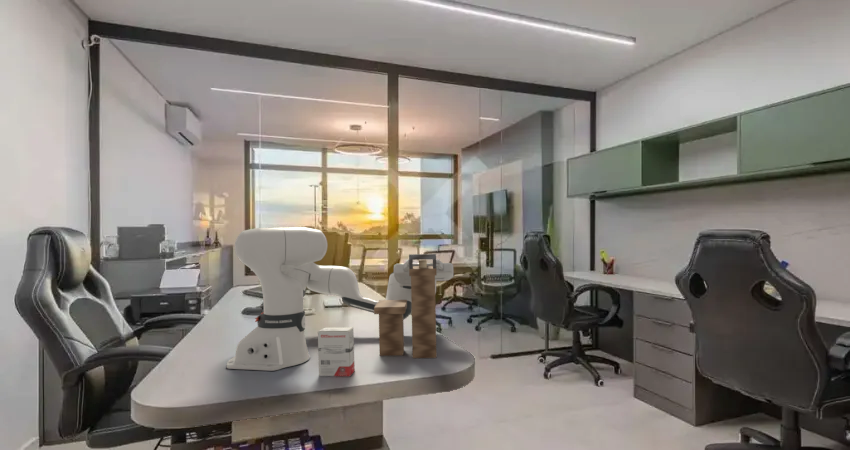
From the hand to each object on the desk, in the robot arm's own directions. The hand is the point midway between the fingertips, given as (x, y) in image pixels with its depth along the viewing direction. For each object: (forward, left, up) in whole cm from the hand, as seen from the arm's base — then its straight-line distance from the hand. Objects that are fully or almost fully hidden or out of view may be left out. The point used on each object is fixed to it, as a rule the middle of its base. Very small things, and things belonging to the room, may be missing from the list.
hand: (423, 261), depth 134 cm
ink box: (-23, -25, -28) cm, 44 cm away
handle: (0, -4, -1) cm, 4 cm away
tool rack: (-5, -6, -27) cm, 29 cm away
